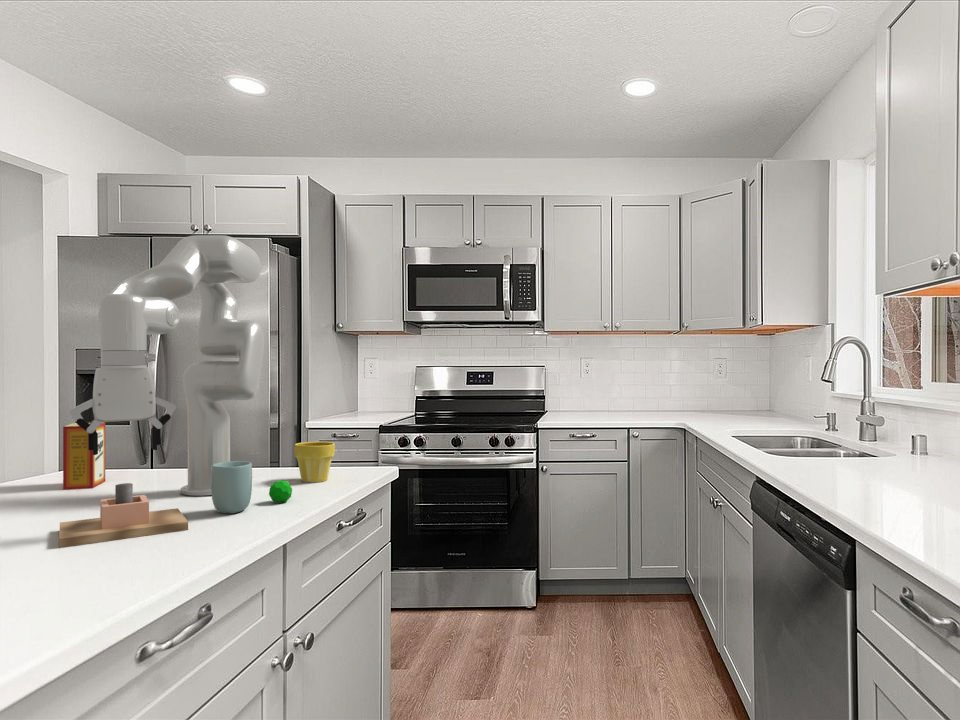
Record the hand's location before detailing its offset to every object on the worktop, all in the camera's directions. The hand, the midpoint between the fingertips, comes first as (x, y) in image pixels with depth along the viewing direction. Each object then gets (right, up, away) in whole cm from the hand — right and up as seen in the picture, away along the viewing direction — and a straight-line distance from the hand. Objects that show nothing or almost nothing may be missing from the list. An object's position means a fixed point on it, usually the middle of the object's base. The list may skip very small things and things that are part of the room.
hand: (125, 451), depth 116 cm
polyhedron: (+22, -15, +23) cm, 35 cm away
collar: (0, -13, 0) cm, 13 cm away
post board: (0, -15, -1) cm, 15 cm away
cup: (+14, -15, +14) cm, 25 cm away
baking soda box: (-35, -15, +42) cm, 57 cm away
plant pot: (+23, -15, +48) cm, 55 cm away
